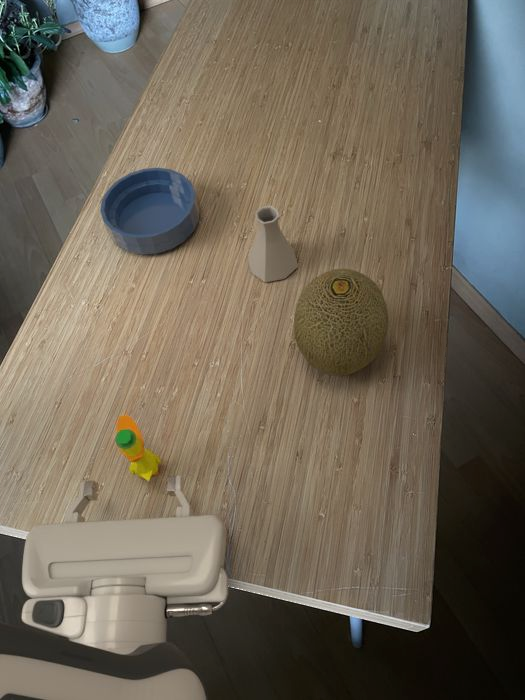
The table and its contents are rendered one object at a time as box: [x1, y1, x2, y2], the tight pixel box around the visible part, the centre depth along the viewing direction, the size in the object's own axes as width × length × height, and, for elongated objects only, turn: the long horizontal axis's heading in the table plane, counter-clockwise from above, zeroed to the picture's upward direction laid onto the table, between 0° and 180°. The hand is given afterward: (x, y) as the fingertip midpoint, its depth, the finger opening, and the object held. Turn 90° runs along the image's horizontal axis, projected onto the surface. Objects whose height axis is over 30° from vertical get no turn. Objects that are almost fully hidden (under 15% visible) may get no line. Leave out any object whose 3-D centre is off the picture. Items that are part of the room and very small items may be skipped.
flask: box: [247, 204, 299, 283], centre depth 81 cm, size 7×7×10 cm
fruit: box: [293, 268, 390, 377], centre depth 70 cm, size 11×11×15 cm
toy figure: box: [115, 413, 162, 482], centre depth 66 cm, size 7×4×12 cm, turn 22°
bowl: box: [99, 167, 200, 255], centre depth 90 cm, size 14×14×4 cm
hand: (132, 479), depth 64 cm, fingers open, 8 cm apart
